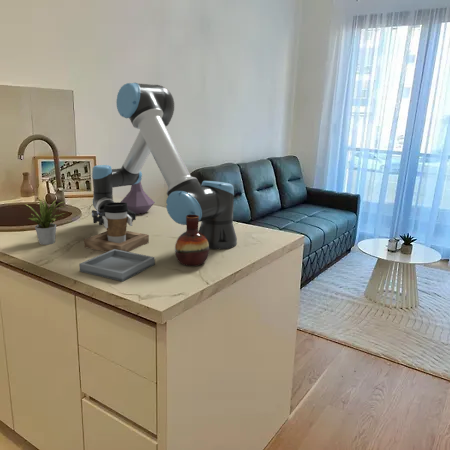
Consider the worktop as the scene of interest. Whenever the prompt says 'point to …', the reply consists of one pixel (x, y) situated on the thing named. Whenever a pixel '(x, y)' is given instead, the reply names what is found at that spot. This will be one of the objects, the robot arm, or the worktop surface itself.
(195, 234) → the vase
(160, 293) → the worktop surface
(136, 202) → the flask
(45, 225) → the house plant
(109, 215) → the coffee cup
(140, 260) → the tray
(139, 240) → the square wooden frame
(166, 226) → the worktop surface
